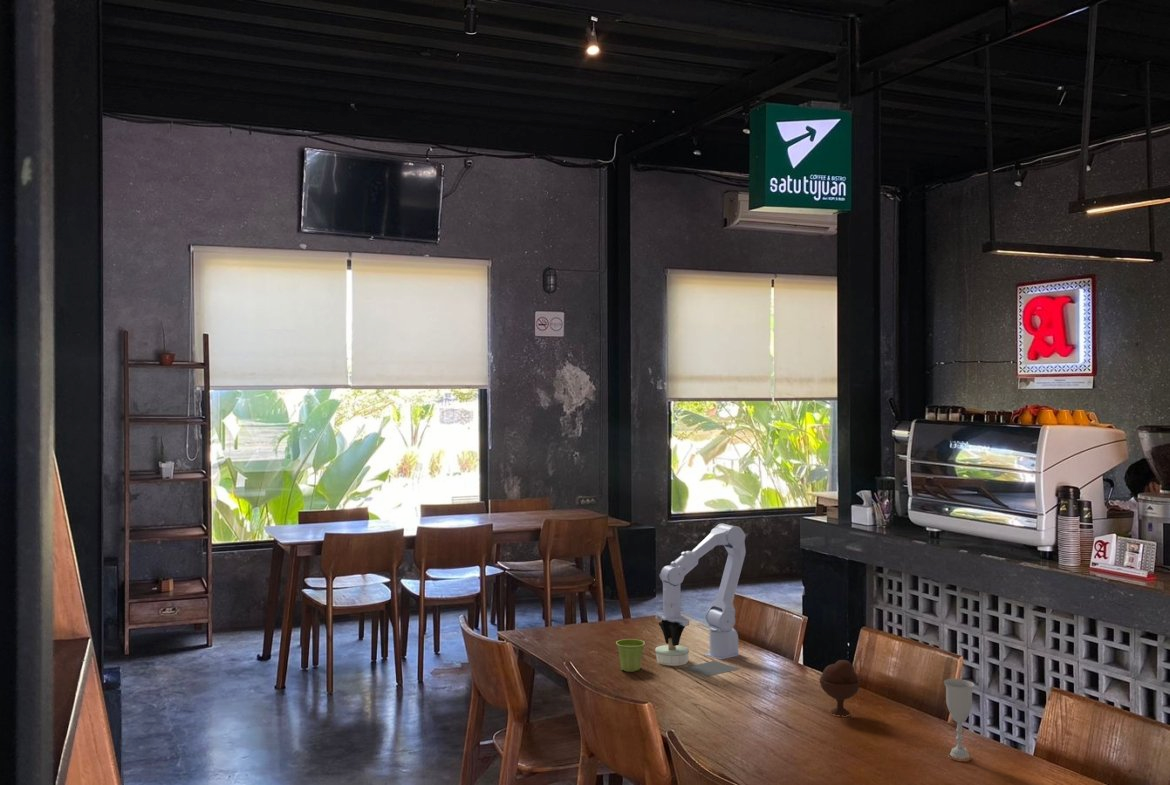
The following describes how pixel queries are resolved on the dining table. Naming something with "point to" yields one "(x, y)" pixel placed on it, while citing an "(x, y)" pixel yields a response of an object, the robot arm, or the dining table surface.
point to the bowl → (672, 659)
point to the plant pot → (630, 654)
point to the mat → (710, 668)
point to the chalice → (959, 709)
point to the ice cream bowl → (840, 684)
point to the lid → (671, 649)
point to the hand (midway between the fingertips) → (672, 644)
